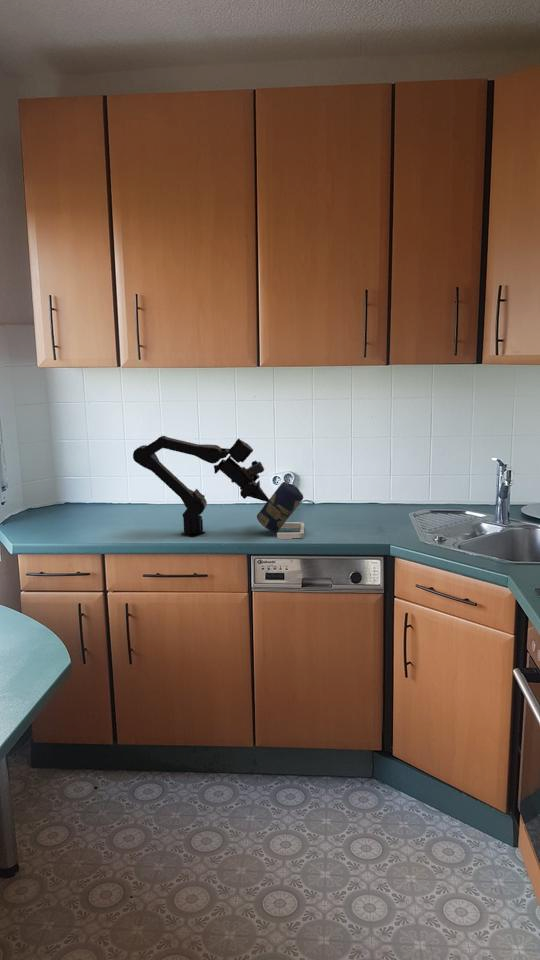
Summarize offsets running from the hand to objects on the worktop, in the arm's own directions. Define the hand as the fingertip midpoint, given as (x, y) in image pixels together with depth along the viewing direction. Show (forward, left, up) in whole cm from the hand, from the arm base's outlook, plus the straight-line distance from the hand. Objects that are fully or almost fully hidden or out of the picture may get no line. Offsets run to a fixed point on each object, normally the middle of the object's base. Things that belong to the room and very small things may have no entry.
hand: (268, 500), depth 263 cm
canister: (-1, +1, -9) cm, 9 cm away
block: (+5, -6, -12) cm, 14 cm away
